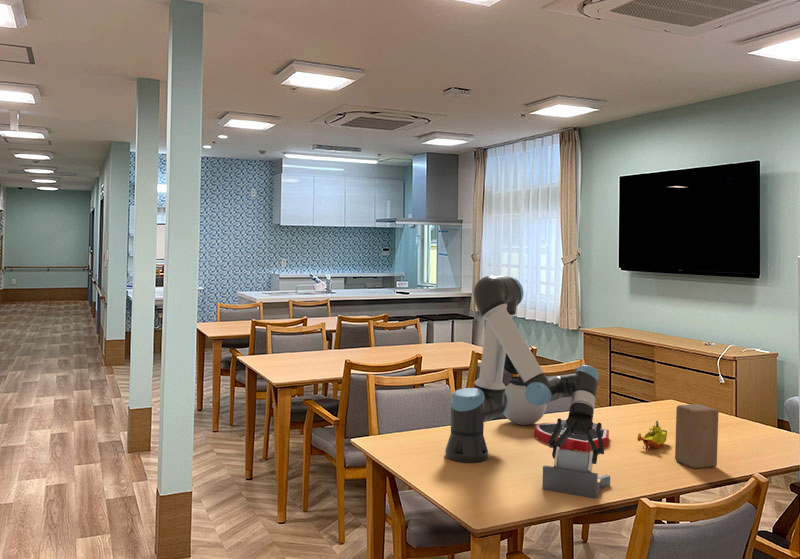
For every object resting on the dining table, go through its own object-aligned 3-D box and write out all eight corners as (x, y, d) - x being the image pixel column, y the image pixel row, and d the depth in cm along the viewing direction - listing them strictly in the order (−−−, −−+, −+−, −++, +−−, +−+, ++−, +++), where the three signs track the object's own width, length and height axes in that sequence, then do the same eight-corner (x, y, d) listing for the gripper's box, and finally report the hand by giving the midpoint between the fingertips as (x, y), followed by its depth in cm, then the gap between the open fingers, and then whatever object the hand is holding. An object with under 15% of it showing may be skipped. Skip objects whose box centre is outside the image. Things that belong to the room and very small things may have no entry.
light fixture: (505, 430, 264) (507, 350, 264) (493, 416, 287) (494, 343, 286) (552, 430, 266) (554, 350, 265) (536, 416, 289) (537, 343, 288)
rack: (546, 474, 210) (546, 453, 210) (610, 484, 201) (610, 462, 201) (535, 488, 197) (536, 465, 197) (603, 499, 188) (604, 476, 188)
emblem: (550, 417, 274) (620, 429, 255) (550, 426, 274) (620, 439, 256) (517, 431, 250) (593, 446, 231) (517, 441, 250) (592, 456, 231)
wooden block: (693, 469, 218) (695, 411, 217) (673, 460, 227) (675, 404, 227) (718, 467, 220) (719, 409, 220) (697, 458, 230) (699, 403, 229)
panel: (560, 483, 201) (560, 449, 201) (589, 488, 197) (590, 453, 197) (557, 488, 197) (557, 452, 197) (587, 493, 193) (587, 457, 193)
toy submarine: (636, 449, 240) (636, 423, 239) (656, 441, 252) (657, 415, 252) (653, 453, 235) (653, 426, 235) (673, 444, 248) (674, 418, 248)
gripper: (618, 418, 206) (611, 481, 192) (549, 411, 216) (537, 471, 201) (616, 404, 201) (609, 468, 187) (546, 398, 211) (534, 458, 197)
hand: (572, 469), depth 194 cm, fingers open, 9 cm apart
